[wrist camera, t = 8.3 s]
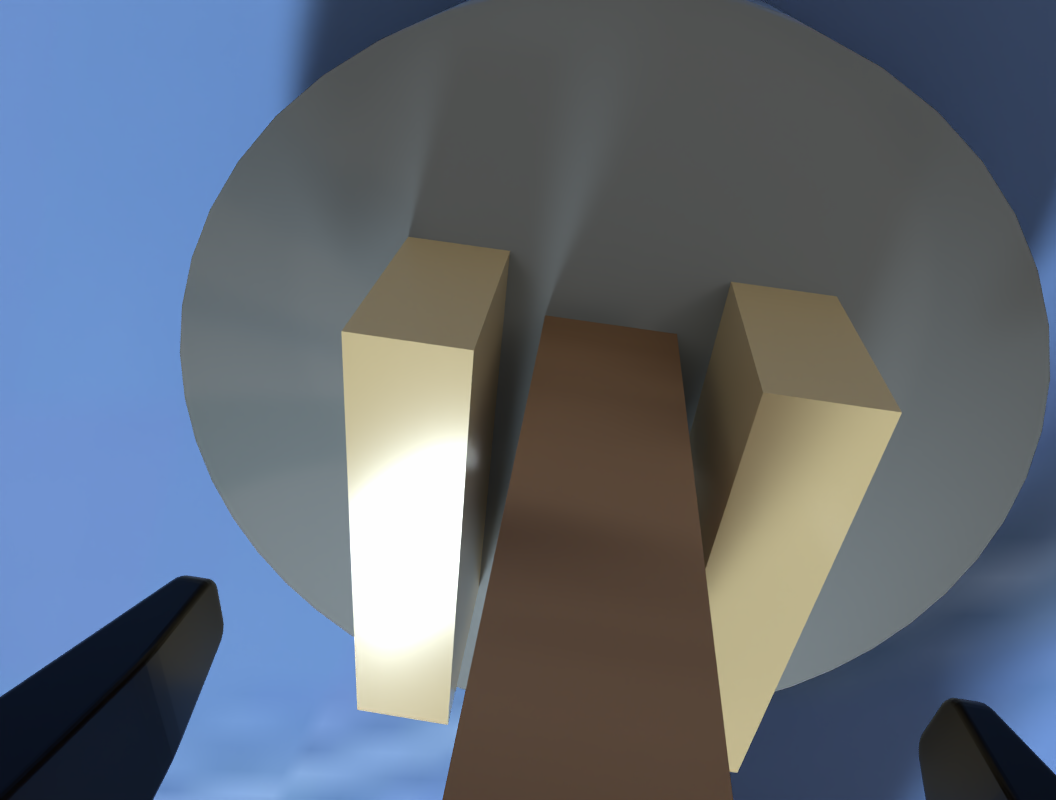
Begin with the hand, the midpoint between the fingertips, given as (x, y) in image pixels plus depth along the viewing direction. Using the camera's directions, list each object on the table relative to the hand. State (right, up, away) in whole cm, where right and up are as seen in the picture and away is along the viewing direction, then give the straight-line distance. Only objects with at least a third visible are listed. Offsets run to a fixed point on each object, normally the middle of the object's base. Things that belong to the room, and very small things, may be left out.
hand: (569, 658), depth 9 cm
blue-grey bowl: (+1, +4, +7) cm, 8 cm away
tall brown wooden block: (0, +2, +3) cm, 4 cm away
